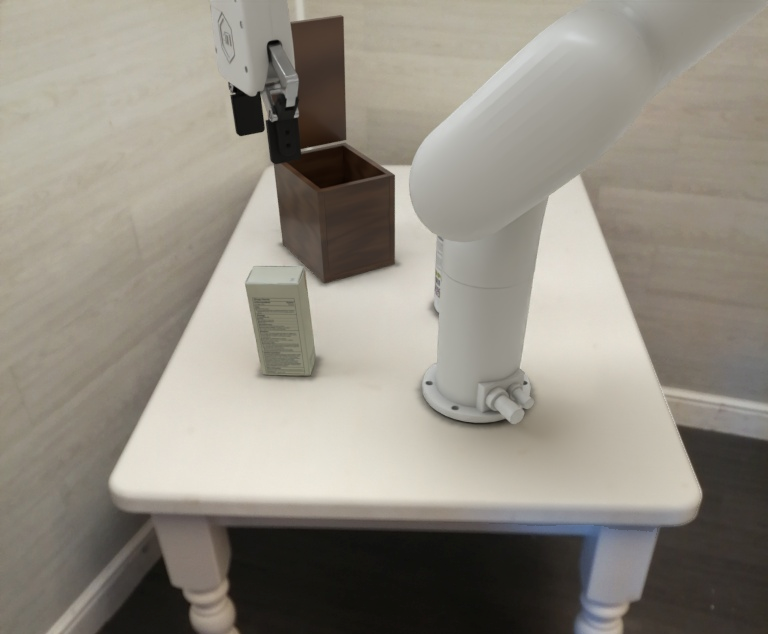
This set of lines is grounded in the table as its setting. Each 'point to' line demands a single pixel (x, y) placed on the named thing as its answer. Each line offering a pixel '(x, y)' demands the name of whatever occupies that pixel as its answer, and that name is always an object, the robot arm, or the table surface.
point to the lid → (320, 80)
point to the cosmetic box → (281, 319)
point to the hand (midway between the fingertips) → (267, 146)
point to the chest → (337, 211)
